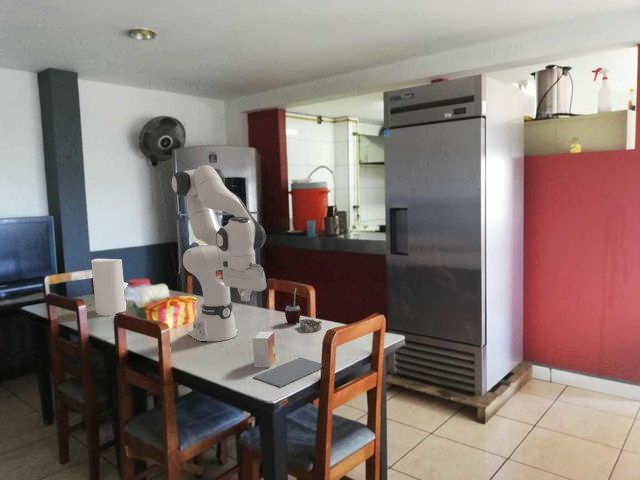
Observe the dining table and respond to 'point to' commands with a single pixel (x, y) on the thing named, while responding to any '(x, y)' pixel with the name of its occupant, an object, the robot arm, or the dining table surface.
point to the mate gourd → (293, 313)
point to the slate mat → (289, 372)
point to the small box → (264, 349)
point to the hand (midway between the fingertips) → (245, 300)
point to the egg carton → (310, 325)
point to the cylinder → (108, 286)
